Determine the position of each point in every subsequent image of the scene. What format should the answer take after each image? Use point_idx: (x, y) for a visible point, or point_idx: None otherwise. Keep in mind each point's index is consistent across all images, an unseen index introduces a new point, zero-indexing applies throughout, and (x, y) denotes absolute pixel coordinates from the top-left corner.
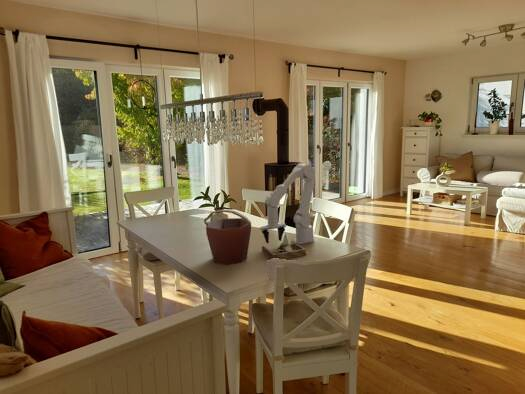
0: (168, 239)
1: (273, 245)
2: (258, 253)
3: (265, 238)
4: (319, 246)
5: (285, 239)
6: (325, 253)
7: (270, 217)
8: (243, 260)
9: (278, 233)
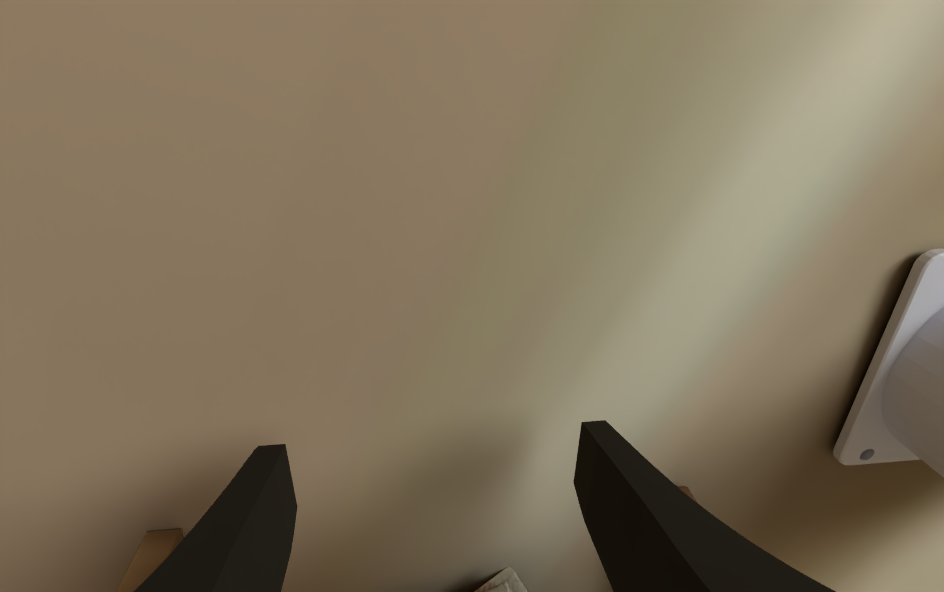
0: None
1: (457, 328)
2: (71, 563)
3: (215, 526)
4: (923, 580)
5: None
6: None
7: None
8: None
9: (658, 544)
